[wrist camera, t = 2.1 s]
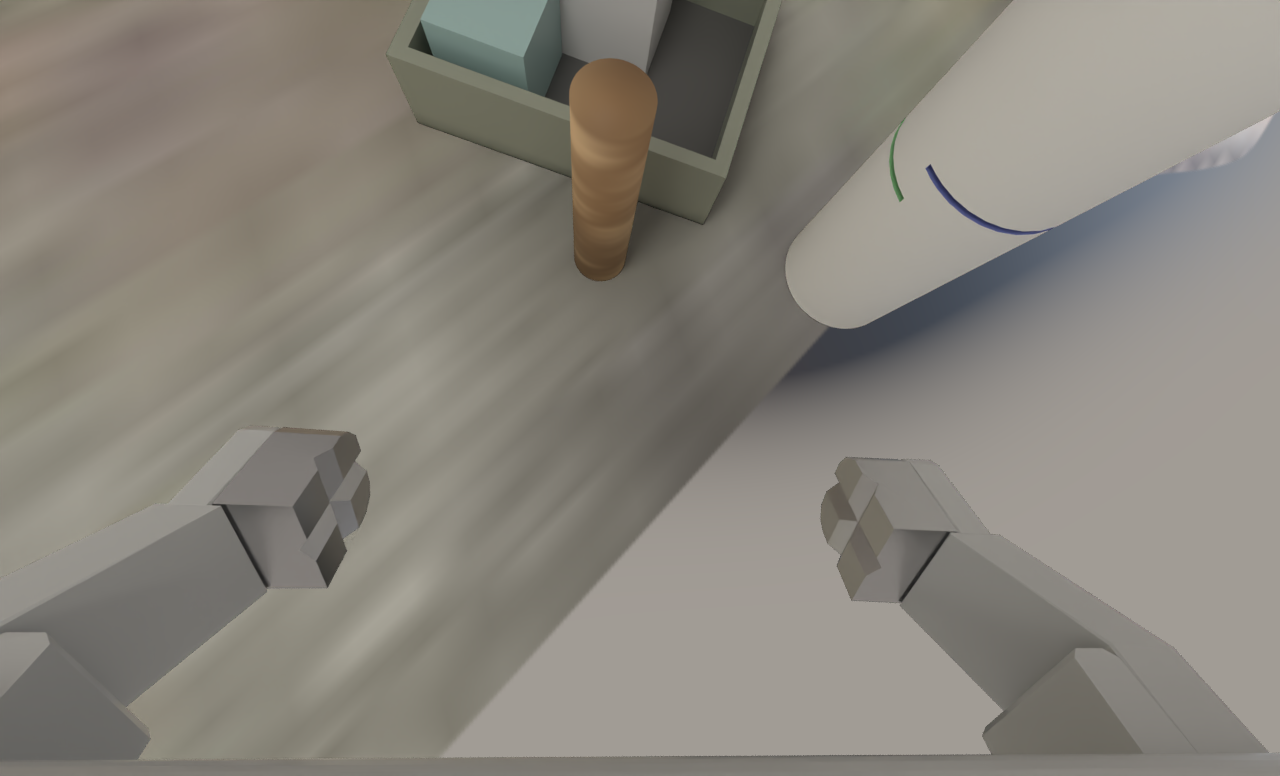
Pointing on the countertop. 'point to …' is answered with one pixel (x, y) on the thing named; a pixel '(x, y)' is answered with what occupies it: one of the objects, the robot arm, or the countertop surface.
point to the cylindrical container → (1034, 141)
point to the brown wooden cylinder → (608, 160)
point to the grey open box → (558, 48)
